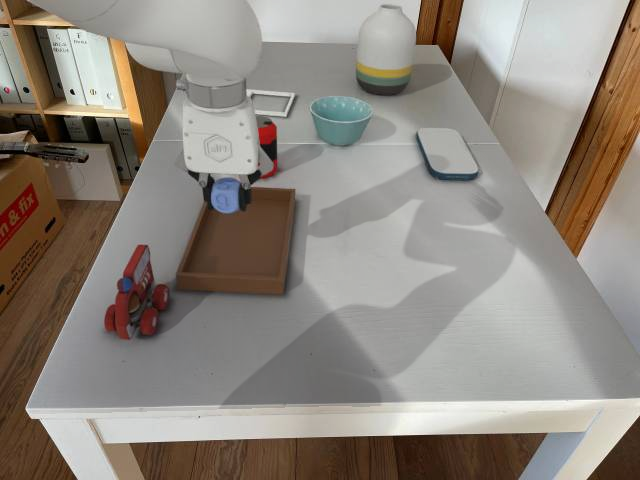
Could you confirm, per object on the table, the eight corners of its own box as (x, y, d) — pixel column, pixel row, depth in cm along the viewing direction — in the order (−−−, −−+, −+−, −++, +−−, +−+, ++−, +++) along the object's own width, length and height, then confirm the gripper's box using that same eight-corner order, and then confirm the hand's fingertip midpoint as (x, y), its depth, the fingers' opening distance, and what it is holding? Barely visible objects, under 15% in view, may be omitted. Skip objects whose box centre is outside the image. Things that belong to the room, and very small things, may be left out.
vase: (355, 77, 162) (361, -3, 147) (407, 80, 161) (419, 0, 146) (353, 97, 149) (359, 12, 134) (409, 101, 148) (422, 16, 133)
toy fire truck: (102, 346, 73) (83, 295, 67) (133, 287, 83) (120, 239, 76) (148, 350, 73) (134, 300, 66) (174, 291, 82) (164, 242, 76)
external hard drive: (413, 134, 131) (414, 127, 130) (456, 134, 132) (457, 128, 131) (431, 181, 113) (432, 173, 112) (480, 182, 113) (483, 174, 112)
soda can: (272, 181, 110) (271, 131, 103) (239, 176, 112) (236, 127, 104) (281, 164, 116) (280, 116, 109) (250, 160, 117) (247, 112, 110)
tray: (283, 294, 83) (283, 280, 81) (178, 289, 83) (175, 275, 81) (295, 202, 104) (295, 188, 102) (212, 198, 104) (210, 184, 102)
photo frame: (235, 87, 148) (294, 92, 147) (235, 91, 149) (294, 96, 148) (222, 107, 137) (286, 113, 136) (222, 111, 138) (286, 116, 136)
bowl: (366, 125, 134) (369, 96, 129) (373, 153, 122) (376, 122, 117) (308, 124, 134) (309, 94, 129) (309, 152, 121) (310, 120, 116)
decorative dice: (244, 200, 78) (242, 178, 75) (238, 214, 75) (236, 192, 72) (219, 197, 78) (216, 175, 75) (212, 212, 75) (209, 190, 72)
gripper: (144, 98, 62) (167, 217, 73) (278, 105, 62) (280, 222, 73) (161, 76, 68) (180, 189, 79) (284, 82, 68) (285, 195, 79)
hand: (228, 204), depth 76 cm, fingers closed on decorative dice, 4 cm apart
